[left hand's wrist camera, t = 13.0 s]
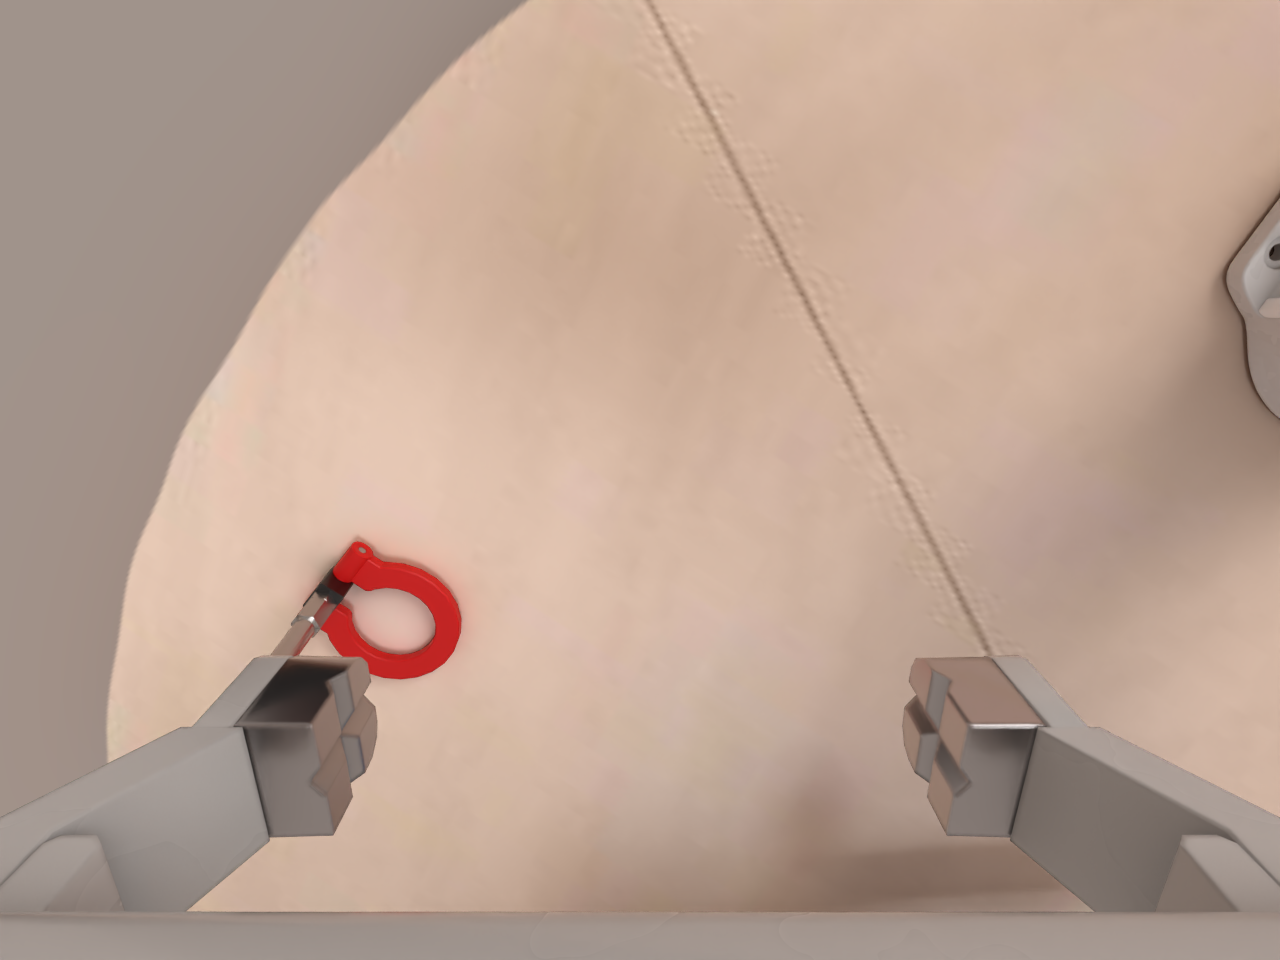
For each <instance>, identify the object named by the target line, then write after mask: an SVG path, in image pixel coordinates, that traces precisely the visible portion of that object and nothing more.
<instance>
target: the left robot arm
mask: <svg viewBox="0 0 1280 960" xmlns="http://www.w3.org/2000/svg"><path fill="white" fill-rule="evenodd" d="M1273 246H1274V253H1273V255H1272V256H1271V257H1269V252H1270V250H1271V248H1272V247H1273ZM1226 282H1227V287H1228V290H1229V293H1230V295H1231V297H1232V299H1233V301H1234V303H1235V304H1236V306H1237V308H1238V310H1239V311H1240V313H1241V314H1242V316H1243V318H1244V320H1245V324H1246V331H1247V351H1248V363H1249V368H1250V373H1251V376H1252V380H1253V383H1254V385H1255V388H1256V390H1257V392H1258V394H1259V395H1260V397H1261V399H1262V400H1263V402H1264V403H1265V404H1266V406H1267V407H1268V408H1269V409H1270V410H1271V411H1272V412H1273V413H1274V414H1275V415H1276V416H1277V417H1278V418H1280V198H1279V199H1278V201H1277V202H1276V203H1275V205H1274V206H1273V207H1272V209H1271V210H1270V211H1269V213H1268V214H1267V215H1266V217H1265V218H1264V219H1263V221H1262V222H1261V223H1260V225H1259V226H1258V227H1257V229H1256V230H1255V231H1254V233H1253V234H1252V235H1251V237H1250V238H1249V239H1248V241H1247V242H1246V243H1245V245H1244V246H1243V247H1242V249H1241V250H1240V251H1239V253H1238V254H1237V255H1236V257H1235V258H1234V259H1233V261H1232V263H1231V264H1230V266H1229V268H1228V271H1227V276H1226ZM370 683H371V678H370V673H369V668H368V663H367V662H366V661H365V660H364V659H363V658H362V657H335V656H291V655H290V656H260V657H257V658H254V659H253V660H252V661H251V662H250V663H249V664H248V665H247V666H246V668H245V669H244V670H243V671H242V672H241V673H240V674H239V675H238V676H237V678H236V679H235V680H234V681H233V682H232V683H231V684H230V685H229V686H228V688H227V689H226V690H225V691H224V692H223V693H222V694H221V695H220V696H219V698H218V699H217V700H216V701H215V702H214V703H213V704H212V705H211V706H210V708H209V709H208V710H207V711H206V712H205V713H204V714H203V715H202V716H201V717H200V719H199V720H198V721H197V722H196V723H195V724H194V725H193V726H192V727H180V728H178V729H176V730H174V731H172V732H170V733H168V734H166V735H164V736H162V737H160V738H158V739H156V740H154V741H152V742H150V743H148V744H146V745H144V746H142V747H140V748H138V749H136V750H134V751H132V752H130V753H128V754H126V755H124V756H122V757H120V758H118V759H116V760H114V761H112V762H110V763H108V764H106V765H104V766H102V767H100V768H98V769H96V770H94V771H92V772H90V773H88V774H86V775H84V776H82V777H80V778H78V779H76V780H74V781H72V782H70V783H68V784H66V785H64V786H62V787H60V788H58V789H56V790H54V791H52V792H50V793H48V794H46V795H44V796H42V797H40V798H38V799H36V800H34V801H32V802H30V803H28V804H26V805H24V806H22V807H20V808H18V809H16V810H14V811H12V812H10V813H8V814H6V815H4V816H2V817H0V960H1280V817H1278V816H1276V815H1274V814H1272V813H1270V812H1268V811H1266V810H1264V809H1262V808H1260V807H1258V806H1256V805H1254V804H1252V803H1250V802H1248V801H1246V800H1244V799H1242V798H1240V797H1238V796H1236V795H1234V794H1232V793H1230V792H1228V791H1226V790H1224V789H1222V788H1220V787H1218V786H1216V785H1214V784H1212V783H1210V782H1208V781H1206V780H1204V779H1202V778H1200V777H1198V776H1196V775H1194V774H1192V773H1190V772H1188V771H1186V770H1184V769H1182V768H1180V767H1178V766H1176V765H1174V764H1172V763H1170V762H1168V761H1166V760H1164V759H1162V758H1160V757H1158V756H1156V755H1154V754H1152V753H1150V752H1148V751H1146V750H1144V749H1142V748H1140V747H1138V746H1136V745H1134V744H1132V743H1130V742H1128V741H1126V740H1124V739H1122V738H1120V737H1118V736H1116V735H1114V734H1112V733H1110V732H1108V731H1106V730H1104V729H1102V728H1100V727H1088V726H1087V725H1086V724H1085V723H1084V722H1083V721H1082V720H1081V719H1080V717H1079V716H1078V715H1077V714H1076V713H1075V712H1074V711H1073V710H1072V709H1071V708H1070V706H1069V705H1068V704H1067V703H1066V702H1065V701H1064V700H1063V699H1062V698H1061V696H1060V695H1059V694H1058V693H1057V692H1056V691H1055V690H1054V689H1053V688H1052V686H1051V685H1050V684H1049V683H1048V682H1047V681H1046V680H1045V679H1044V678H1043V676H1042V675H1041V674H1040V673H1039V672H1038V671H1037V670H1036V669H1035V668H1034V666H1033V665H1032V664H1031V663H1030V662H1029V661H1028V660H1027V659H1026V658H1023V657H1021V656H1019V655H1005V656H984V657H946V658H916V659H915V661H914V663H913V665H912V667H911V672H910V678H909V683H910V684H911V686H912V688H913V690H914V691H915V693H916V696H915V697H914V698H913V699H912V700H911V701H910V702H909V703H908V704H907V705H906V706H905V709H904V717H903V725H902V727H903V737H904V746H905V749H906V753H907V756H908V759H909V761H910V763H911V766H912V768H913V770H914V772H915V773H916V774H918V775H919V776H920V777H922V778H923V779H925V780H926V781H927V782H929V789H928V795H927V798H928V800H929V802H930V804H931V806H932V807H933V809H934V811H935V813H936V815H937V817H938V819H939V821H940V823H941V825H942V827H943V829H944V831H945V833H946V835H947V836H982V837H1011V838H1010V841H1011V842H1013V843H1014V844H1015V845H1016V846H1017V847H1019V848H1020V849H1021V850H1022V851H1023V852H1025V853H1026V854H1027V855H1028V856H1029V857H1030V858H1032V859H1033V860H1034V861H1035V862H1036V863H1038V864H1039V865H1040V866H1041V867H1042V868H1044V869H1045V870H1046V871H1047V872H1048V873H1049V874H1051V875H1052V876H1053V877H1054V878H1055V879H1057V880H1058V881H1059V882H1060V883H1061V884H1063V885H1064V886H1065V887H1066V888H1067V889H1068V890H1070V891H1071V892H1072V893H1073V894H1074V895H1076V896H1077V897H1078V898H1079V899H1080V900H1082V901H1083V902H1084V903H1085V904H1086V905H1087V906H1089V907H1090V908H1091V909H1092V910H1093V911H1095V912H186V911H187V910H188V909H189V908H190V907H192V906H193V905H194V904H195V903H196V902H198V901H199V900H200V899H201V898H202V897H203V896H205V895H206V894H207V893H208V892H209V891H211V890H212V889H213V888H214V887H215V886H217V885H218V884H219V883H220V882H221V881H223V880H224V879H225V878H226V877H227V876H228V875H230V874H231V873H232V872H233V871H234V870H236V869H237V868H238V867H239V866H240V865H242V864H243V863H244V862H245V861H246V860H247V859H249V858H250V857H251V856H252V855H253V854H255V853H256V852H257V851H258V850H259V849H261V848H262V847H263V846H264V845H265V844H267V843H268V842H269V841H270V838H269V837H297V836H331V835H334V833H335V831H336V829H337V827H338V825H339V823H340V821H341V819H342V817H343V815H344V813H345V811H346V809H347V808H348V806H349V804H350V802H351V800H352V798H353V795H352V789H351V782H353V781H354V780H355V779H357V778H358V777H360V776H361V775H362V774H364V773H365V772H366V770H367V768H368V765H369V763H370V761H371V759H372V757H373V753H374V748H375V744H376V739H377V715H376V708H375V706H374V705H373V704H372V703H371V702H370V701H369V700H368V699H367V698H366V697H365V696H364V693H365V691H366V690H367V688H368V686H369V684H370Z"/></svg>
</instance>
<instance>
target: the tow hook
mask: <svg viewBox="0 0 1280 960" xmlns="http://www.w3.org/2000/svg"><path fill="white" fill-rule="evenodd" d="M353 583H354V584H356V585H357V586H359V587H361V588H362V589H364V590H365V591H372V590H374V589H381V588H393V589H400V590H403V591H406V592H409V593H411V594H413V595H414V596H416V597H418V598H419V599H420V600H421V601H423V602H424V603H425V604H426V605H427V606H428V608H429V610H430V611H431V613H432V614H433V617H434V620H435V624H436V630H435V636H434V638H433V639H432V641H431V642H430V643H429V644H428V645H427V646H426V647H424V648H423V649H421V650H419V651H417V652H414V653H411V654H403V655H397V654H388V653H385V652H382V651H379V650H377V649H375V648H373V647H371V646H370V645H368V644H367V643H366V642H365V641H364V640H363V639H362V638H361V637H360V636H359V634H358V633H357V631H356V630H355V628H354V625H353V622H352V613H351V611H350V610H349V609H348V608H346V607H345V606H343V605H341V604H340V602H341V601H342V599H343V598H344V597H345V595H346V594H347V592H348V591H349V589H350V588H351V586H352V585H353ZM291 626H292V627H291V628H290V630H289V631H288V632H287V634H286V635H285V636H284V638H283V639H282V640H281V642H280V643H279V644H278V646H277V647H276V648H275V650H274V651H273V652H272V654H271V655H270V656H290V655H291V656H299V654H300V653H301V651H302V650H303V648H304V647H305V646H306V644H307V643H308V641H309V640H310V638H313V637H314V636H315V635H316V634H317V633H318V631H319V630H320V629H321V630H323V631H324V632H326V633H327V634H328V636H329V639H330V641H331V643H332V644H333V646H334V647H335V648H336V650H337V651H338V653H339V654H340V655H341V656H343V657H362V658H363V659H364V660H365V661H366V662H367V663H368V668H369V673H370V674H373V675H376V676H379V677H383V678H392V679H407V678H415V677H419V676H422V675H425V674H427V673H430V672H432V671H434V670H435V669H437V668H438V667H440V666H441V665H442V664H444V663H445V662H446V661H447V659H448V658H449V657H450V656H451V654H452V653H453V652H454V649H455V647H456V644H457V642H458V639H459V636H460V633H461V616H460V612H459V608H458V605H457V603H456V601H455V599H454V598H453V596H452V595H451V593H450V591H449V590H448V589H447V588H446V587H445V586H444V585H443V584H442V583H441V582H440V581H439V580H438V579H437V578H435V577H433V576H432V575H430V574H428V573H427V572H425V571H423V570H422V569H419V568H416V567H413V566H410V565H407V564H402V563H392V562H383V561H381V560H380V559H378V558H377V557H375V556H373V552H372V550H371V548H370V547H369V546H367V545H366V544H364V543H362V542H354V543H353V544H352V545H351V546H350V548H349V549H348V550H347V551H346V553H345V554H344V555H343V557H342V558H341V559H340V561H339V562H338V563H337V564H336V566H334V567H333V568H331V570H330V571H329V572H328V573H327V575H326V576H325V577H324V579H323V580H322V581H321V582H320V584H319V585H318V586H317V588H316V589H315V590H314V592H313V593H312V594H311V595H310V597H309V598H308V599H307V601H306V602H305V603H304V605H303V608H302V610H301V611H300V612H299V613H298V615H297V616H296V618H295V619H294V620H293V622H292V623H291Z"/></svg>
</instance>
